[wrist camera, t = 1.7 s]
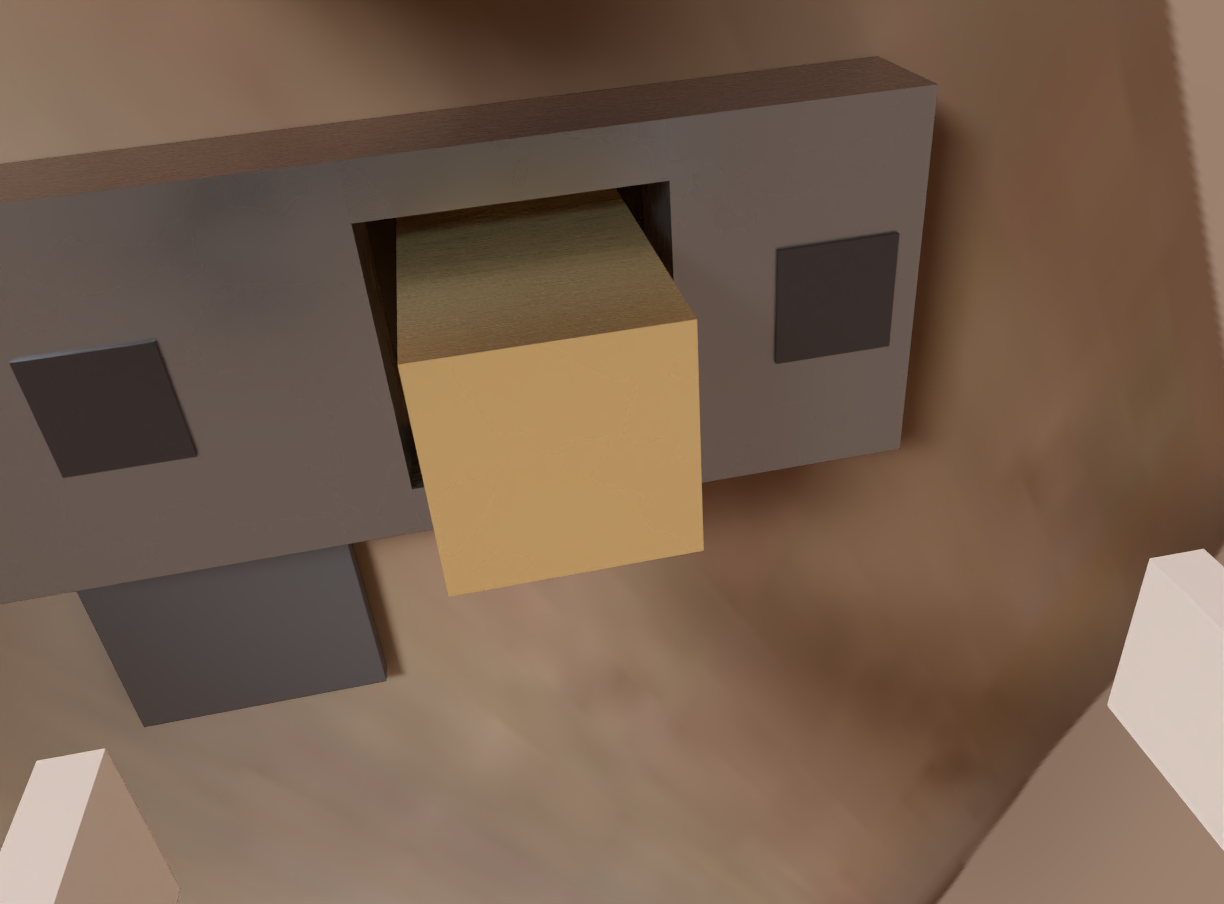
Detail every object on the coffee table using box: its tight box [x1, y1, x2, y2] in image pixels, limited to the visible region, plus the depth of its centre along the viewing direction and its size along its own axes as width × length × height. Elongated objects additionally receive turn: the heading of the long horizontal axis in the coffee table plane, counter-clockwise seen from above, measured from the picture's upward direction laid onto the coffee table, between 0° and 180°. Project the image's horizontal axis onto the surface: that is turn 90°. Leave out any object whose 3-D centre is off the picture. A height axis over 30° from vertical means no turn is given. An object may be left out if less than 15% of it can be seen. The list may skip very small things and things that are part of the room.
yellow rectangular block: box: [396, 188, 704, 597], centre depth 21 cm, size 5×5×8 cm
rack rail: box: [0, 56, 938, 604], centre depth 23 cm, size 22×9×3 cm, turn 94°
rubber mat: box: [77, 543, 387, 727], centre depth 27 cm, size 7×7×1 cm
